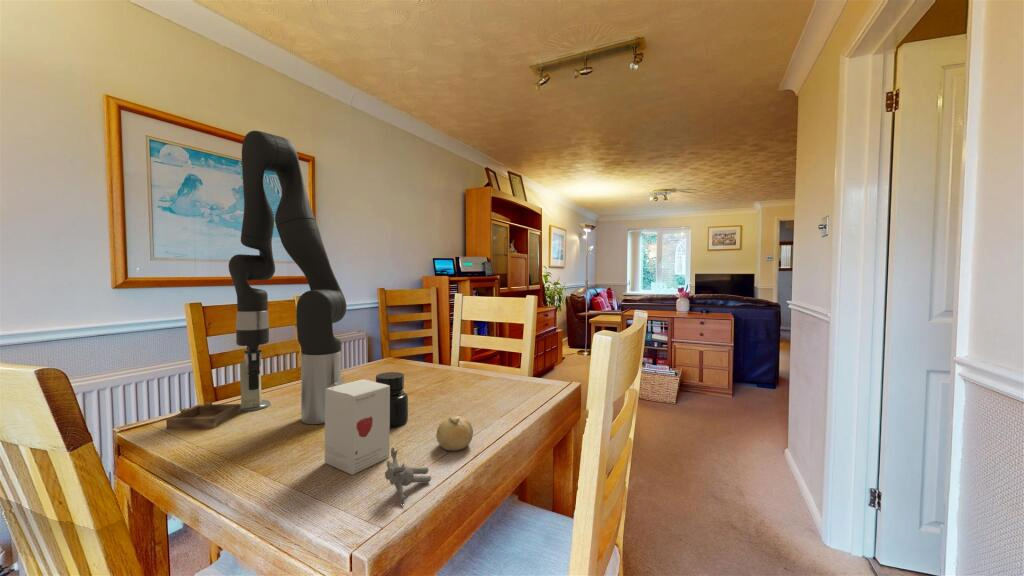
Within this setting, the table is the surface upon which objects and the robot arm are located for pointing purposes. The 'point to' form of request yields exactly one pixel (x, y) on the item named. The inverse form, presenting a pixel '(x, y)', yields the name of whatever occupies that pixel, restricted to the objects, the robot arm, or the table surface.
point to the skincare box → (248, 396)
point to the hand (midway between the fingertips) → (253, 386)
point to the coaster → (263, 405)
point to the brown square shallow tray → (190, 420)
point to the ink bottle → (395, 397)
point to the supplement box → (357, 425)
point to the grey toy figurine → (404, 475)
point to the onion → (454, 433)
